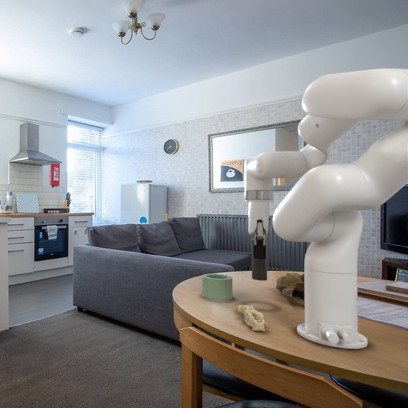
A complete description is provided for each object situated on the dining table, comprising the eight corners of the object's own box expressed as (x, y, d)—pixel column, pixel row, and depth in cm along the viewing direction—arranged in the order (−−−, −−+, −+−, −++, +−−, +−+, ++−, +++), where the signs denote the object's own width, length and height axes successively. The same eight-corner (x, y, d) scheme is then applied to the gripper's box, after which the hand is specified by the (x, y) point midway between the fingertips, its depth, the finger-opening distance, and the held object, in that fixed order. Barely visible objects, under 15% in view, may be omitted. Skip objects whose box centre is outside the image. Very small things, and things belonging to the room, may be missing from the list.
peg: (267, 281, 97) (267, 240, 97) (252, 279, 98) (251, 239, 98) (266, 278, 100) (266, 239, 100) (251, 277, 102) (251, 238, 102)
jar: (232, 303, 102) (232, 280, 102) (201, 299, 106) (200, 278, 106) (232, 296, 110) (232, 275, 110) (203, 293, 114) (203, 272, 114)
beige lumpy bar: (270, 333, 78) (270, 318, 78) (253, 332, 79) (253, 317, 79) (245, 310, 95) (245, 298, 95) (231, 309, 96) (231, 297, 96)
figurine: (283, 280, 97) (275, 265, 115) (282, 310, 97) (273, 290, 115) (347, 288, 90) (327, 270, 108) (345, 319, 91) (326, 297, 109)
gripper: (244, 197, 108) (244, 253, 108) (245, 196, 94) (245, 261, 94) (271, 197, 105) (271, 254, 105) (276, 196, 90) (276, 263, 90)
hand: (259, 257), depth 99 cm, fingers closed on peg, 4 cm apart
